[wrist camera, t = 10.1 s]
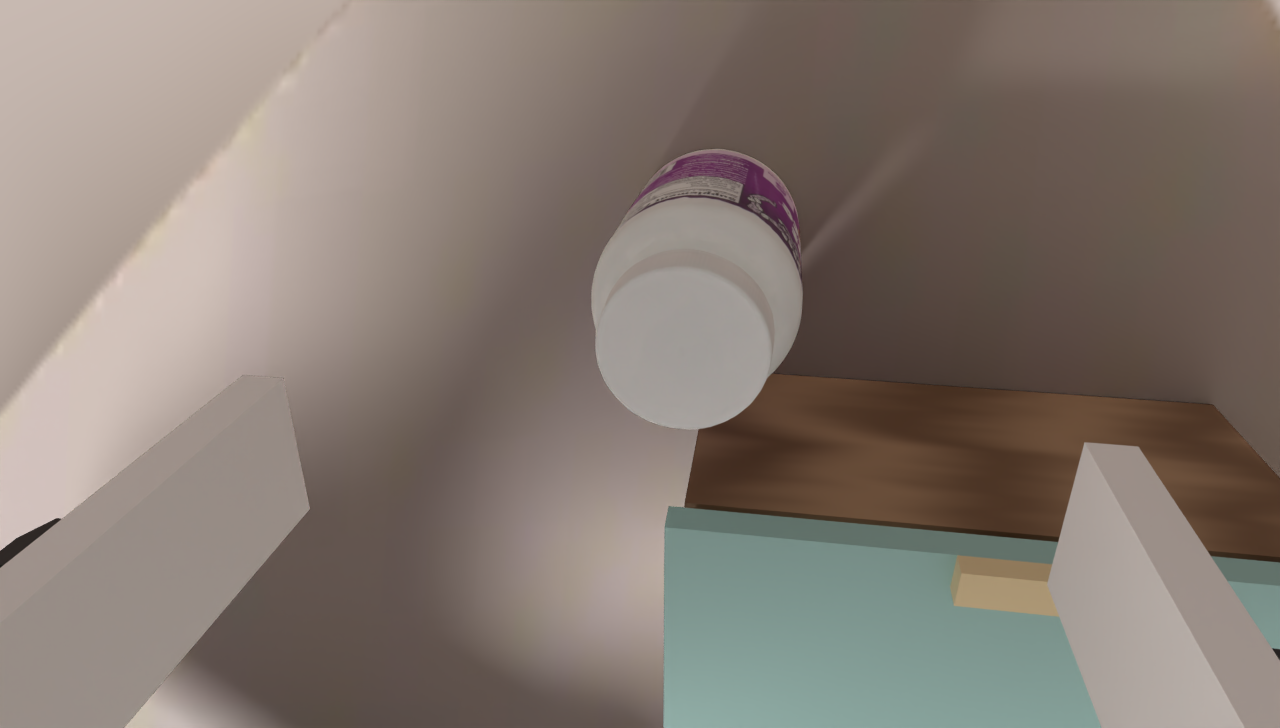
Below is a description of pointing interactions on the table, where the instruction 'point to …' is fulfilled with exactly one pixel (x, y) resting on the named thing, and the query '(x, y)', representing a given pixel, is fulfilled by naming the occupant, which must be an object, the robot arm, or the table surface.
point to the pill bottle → (699, 290)
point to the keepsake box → (973, 460)
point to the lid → (876, 626)
